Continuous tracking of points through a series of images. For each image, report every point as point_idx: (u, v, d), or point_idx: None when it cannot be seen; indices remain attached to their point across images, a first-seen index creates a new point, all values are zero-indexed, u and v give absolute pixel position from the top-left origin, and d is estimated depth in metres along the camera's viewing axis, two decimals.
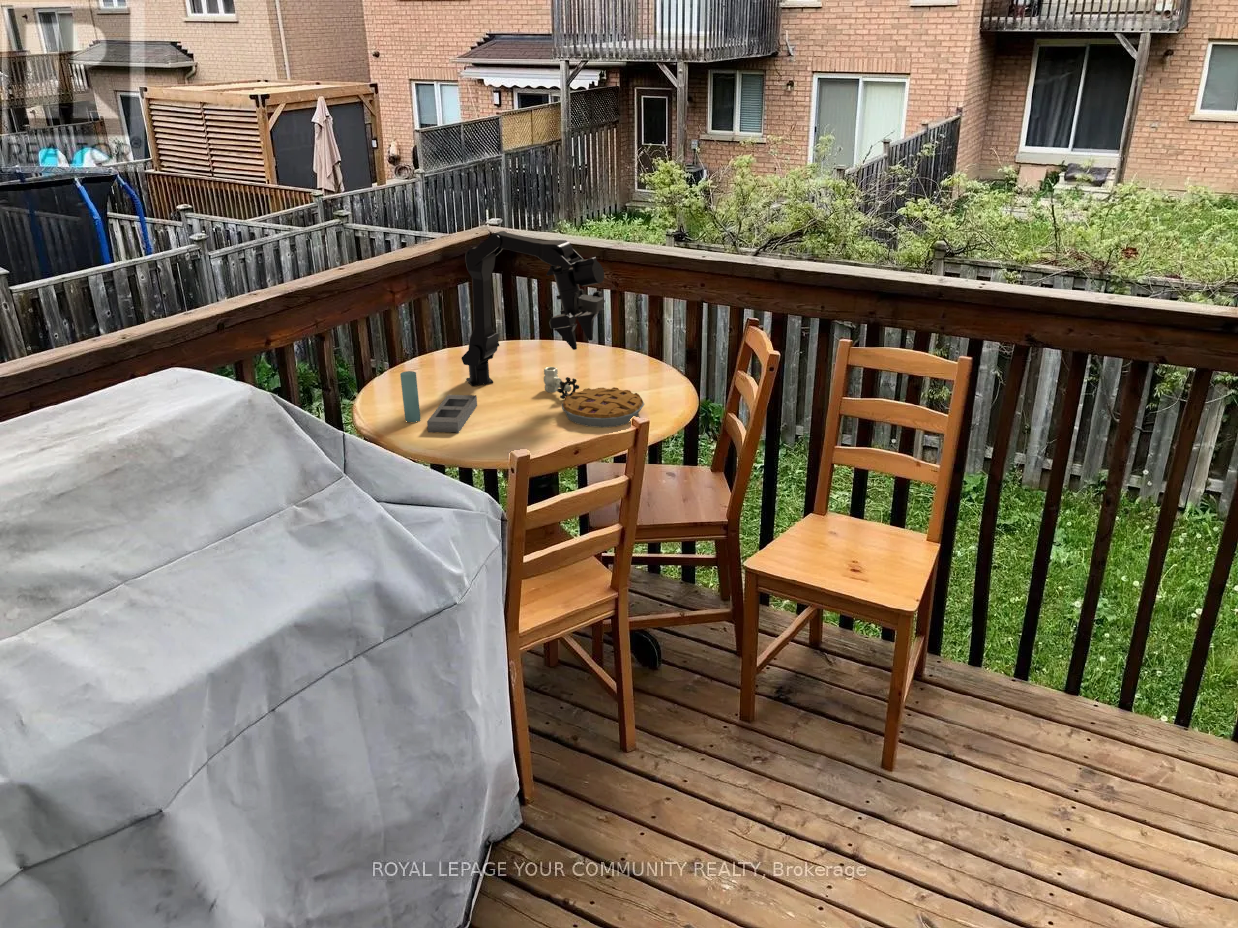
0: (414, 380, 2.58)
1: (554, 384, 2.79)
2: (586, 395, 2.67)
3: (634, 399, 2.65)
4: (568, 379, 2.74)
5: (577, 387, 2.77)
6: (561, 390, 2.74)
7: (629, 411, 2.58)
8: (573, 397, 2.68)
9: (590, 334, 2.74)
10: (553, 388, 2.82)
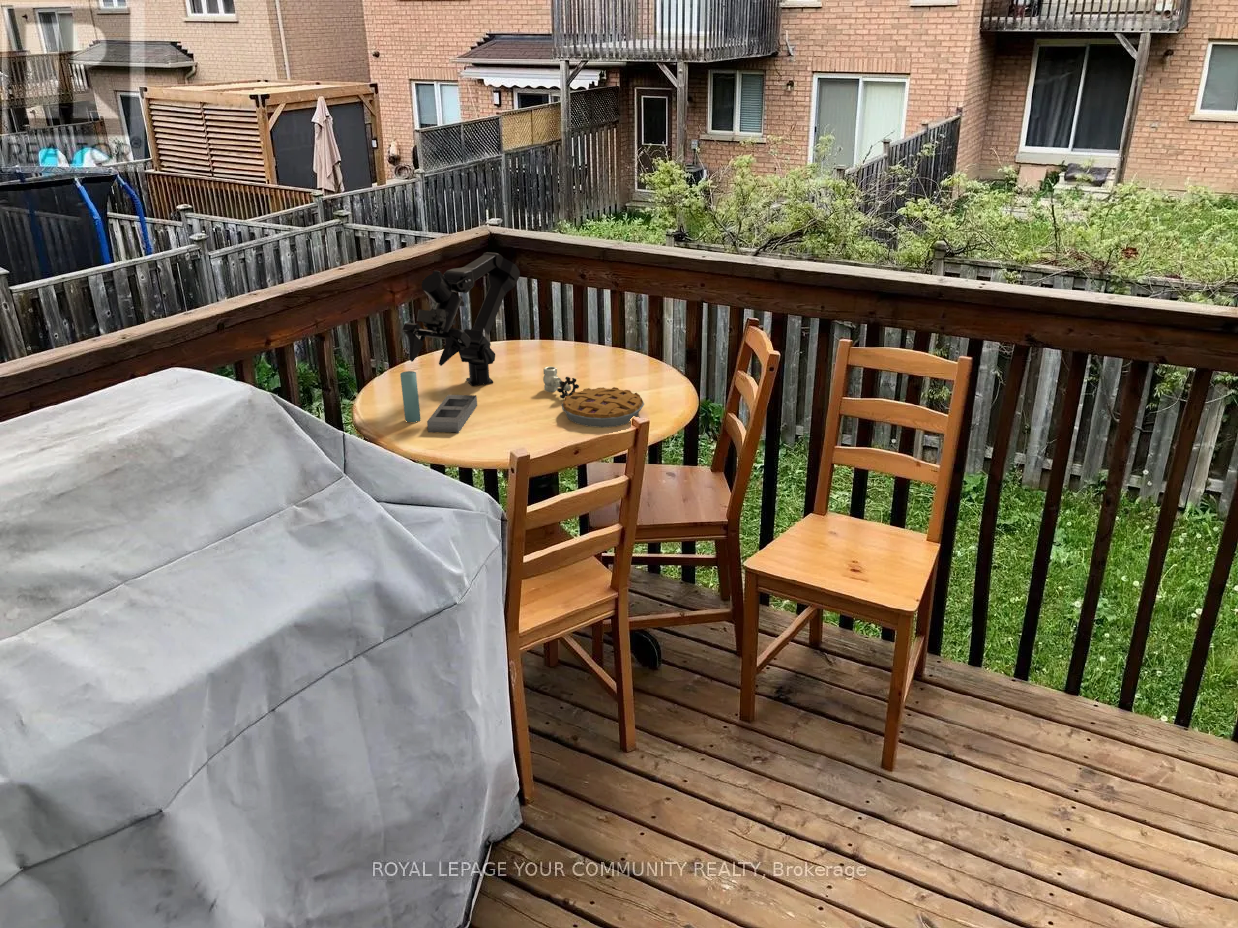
0: (414, 380, 2.58)
1: (554, 384, 2.80)
2: (586, 395, 2.67)
3: (634, 399, 2.65)
4: (568, 379, 2.74)
5: (577, 387, 2.77)
6: (561, 390, 2.74)
7: (629, 411, 2.58)
8: (573, 397, 2.68)
9: None
10: (553, 388, 2.82)
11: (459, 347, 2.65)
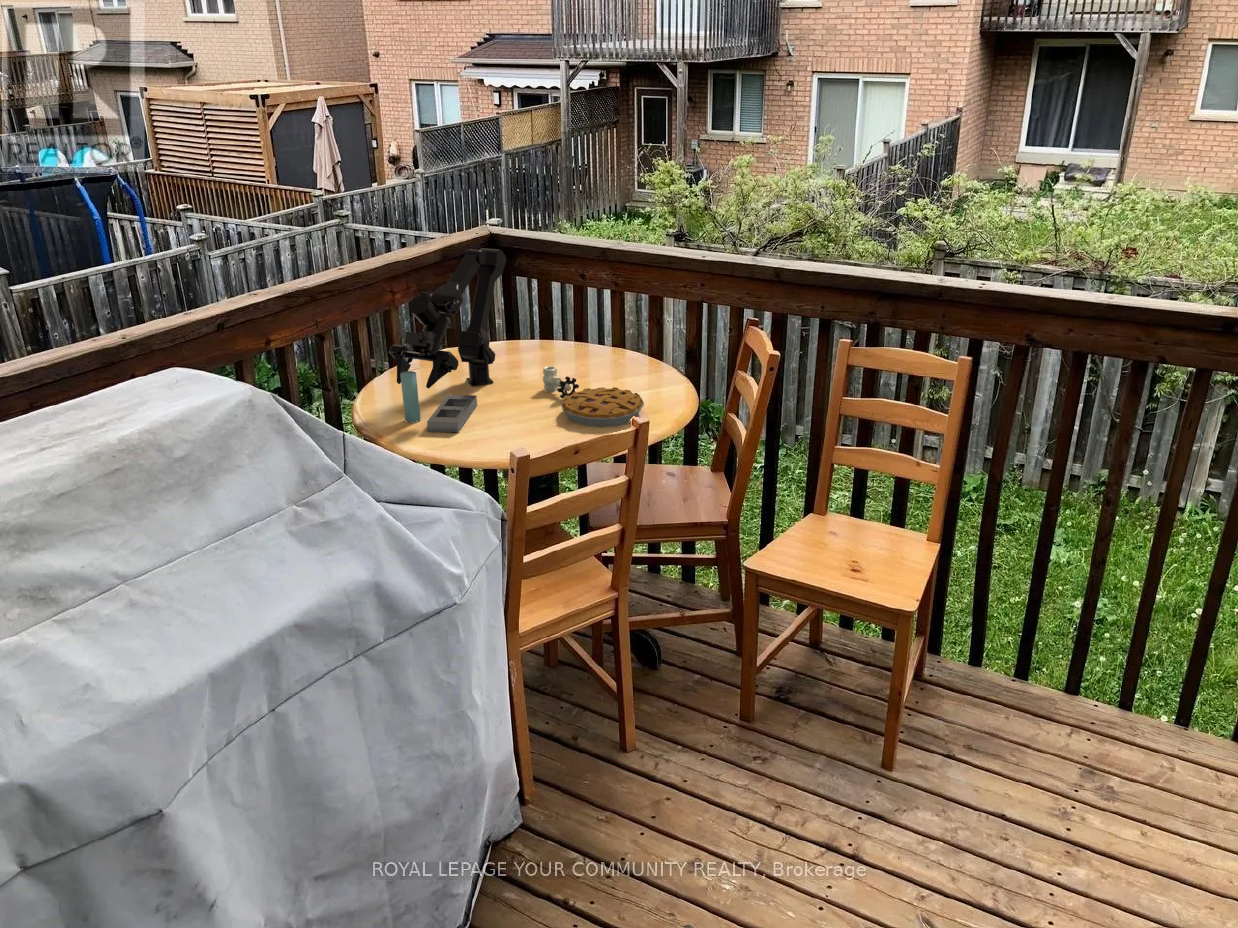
0: (414, 380, 2.58)
1: (554, 383, 2.80)
2: (586, 395, 2.67)
3: (634, 399, 2.65)
4: (568, 378, 2.74)
5: (577, 386, 2.77)
6: (561, 389, 2.74)
7: (629, 411, 2.58)
8: (573, 397, 2.68)
9: None
10: (552, 387, 2.82)
11: (447, 369, 2.62)
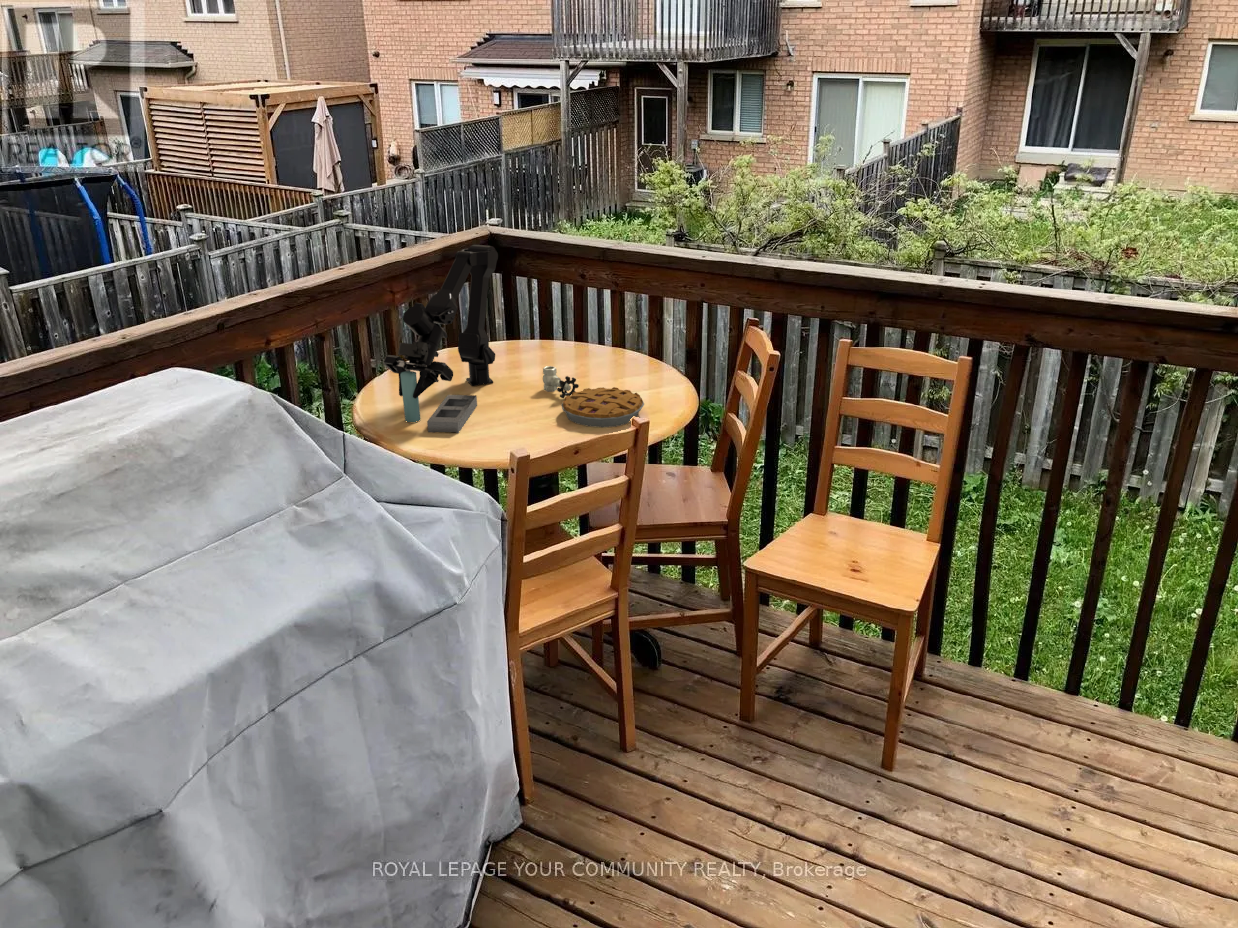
0: (414, 380, 2.58)
1: (553, 383, 2.80)
2: (586, 395, 2.67)
3: (634, 399, 2.65)
4: (568, 378, 2.75)
5: (576, 386, 2.77)
6: (561, 389, 2.74)
7: (629, 411, 2.58)
8: (573, 397, 2.68)
9: None
10: (552, 387, 2.83)
11: (434, 379, 2.61)
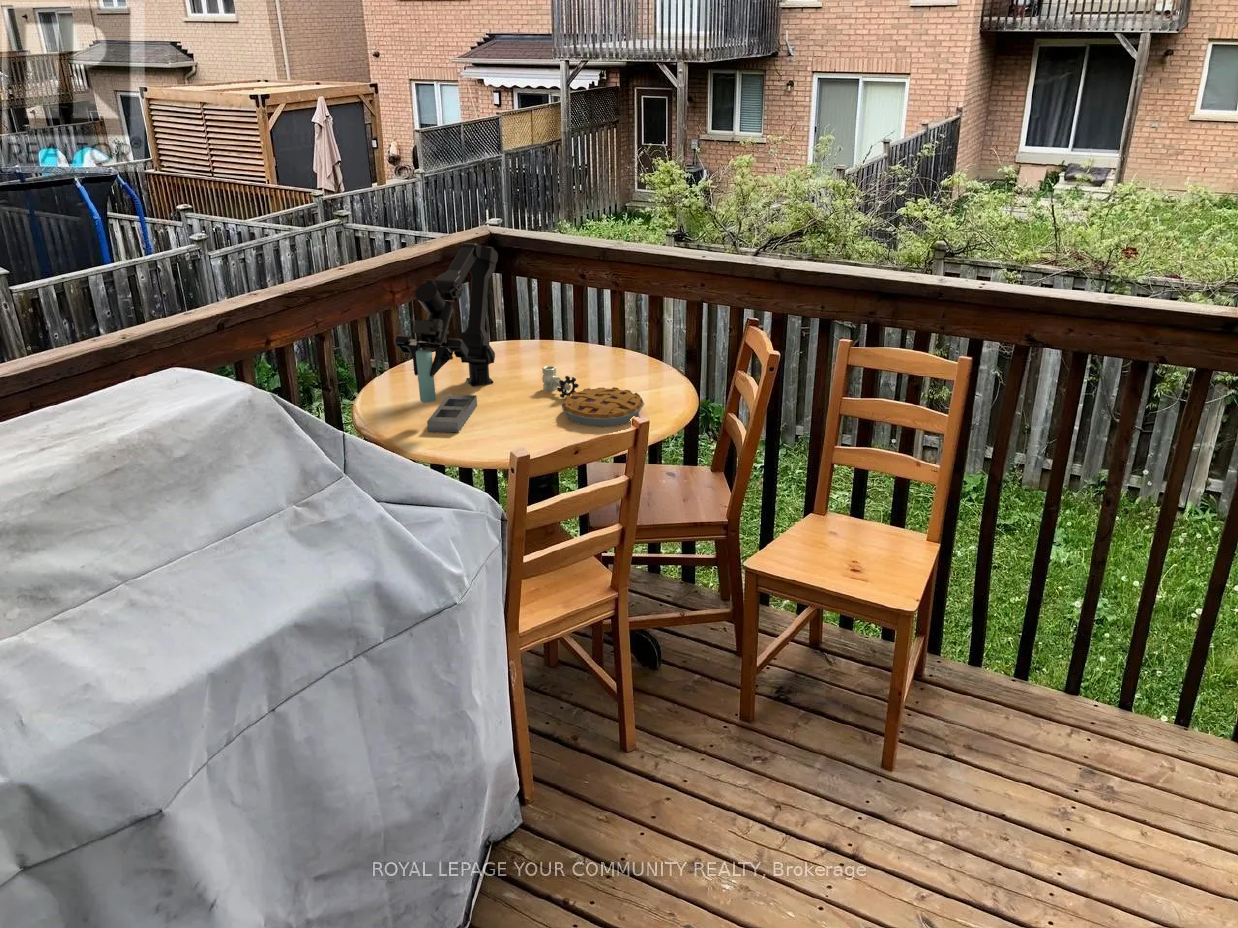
0: (430, 358, 2.54)
1: (553, 383, 2.80)
2: (586, 395, 2.67)
3: (634, 399, 2.65)
4: (568, 378, 2.75)
5: (576, 386, 2.78)
6: (561, 389, 2.75)
7: (629, 411, 2.58)
8: (573, 397, 2.68)
9: None
10: (552, 387, 2.83)
11: (449, 357, 2.58)
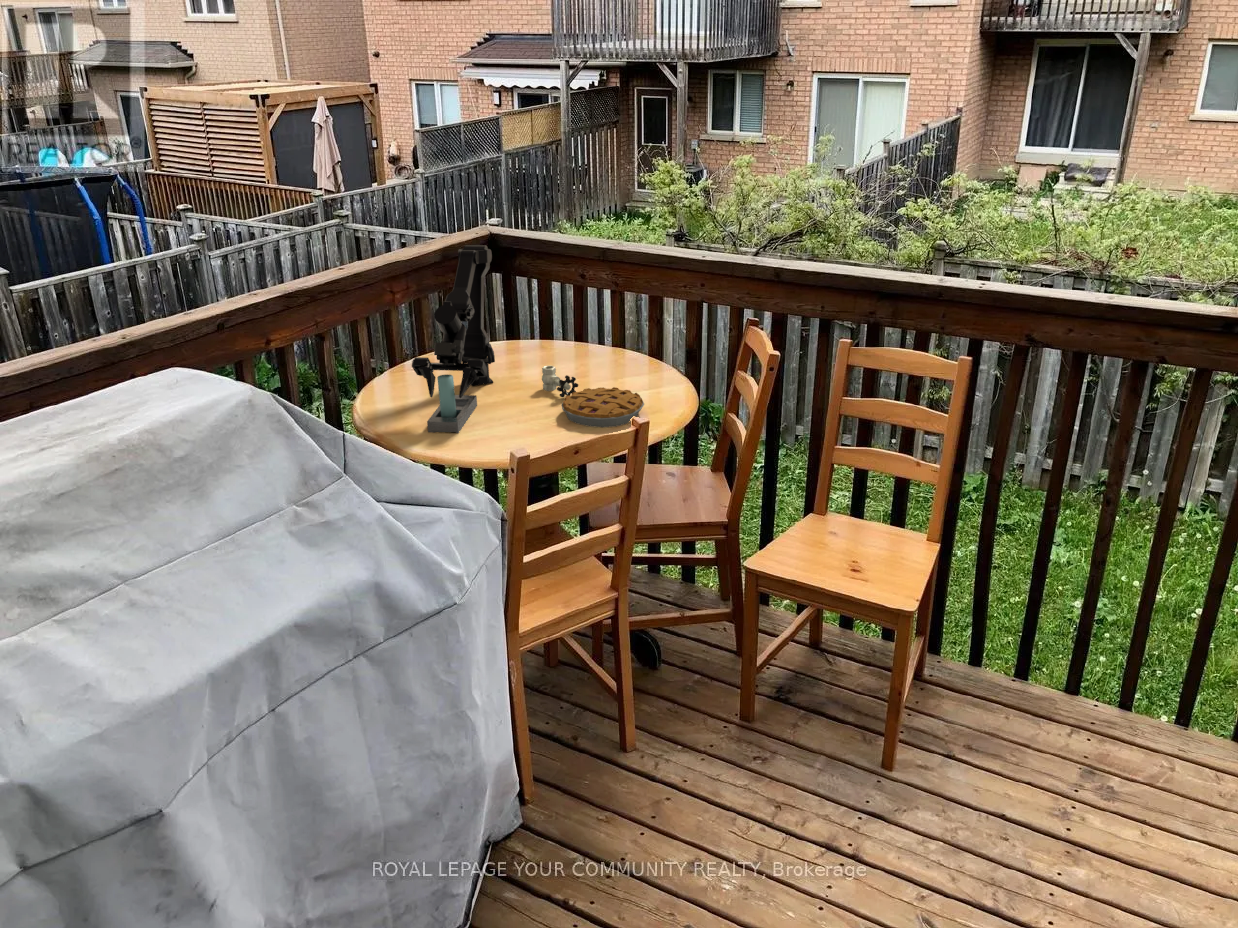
0: (453, 383, 2.56)
1: (553, 383, 2.80)
2: (586, 395, 2.67)
3: (634, 399, 2.65)
4: (567, 377, 2.75)
5: (576, 385, 2.78)
6: (561, 388, 2.75)
7: (629, 411, 2.58)
8: (573, 397, 2.68)
9: None
10: (551, 387, 2.83)
11: (474, 377, 2.59)
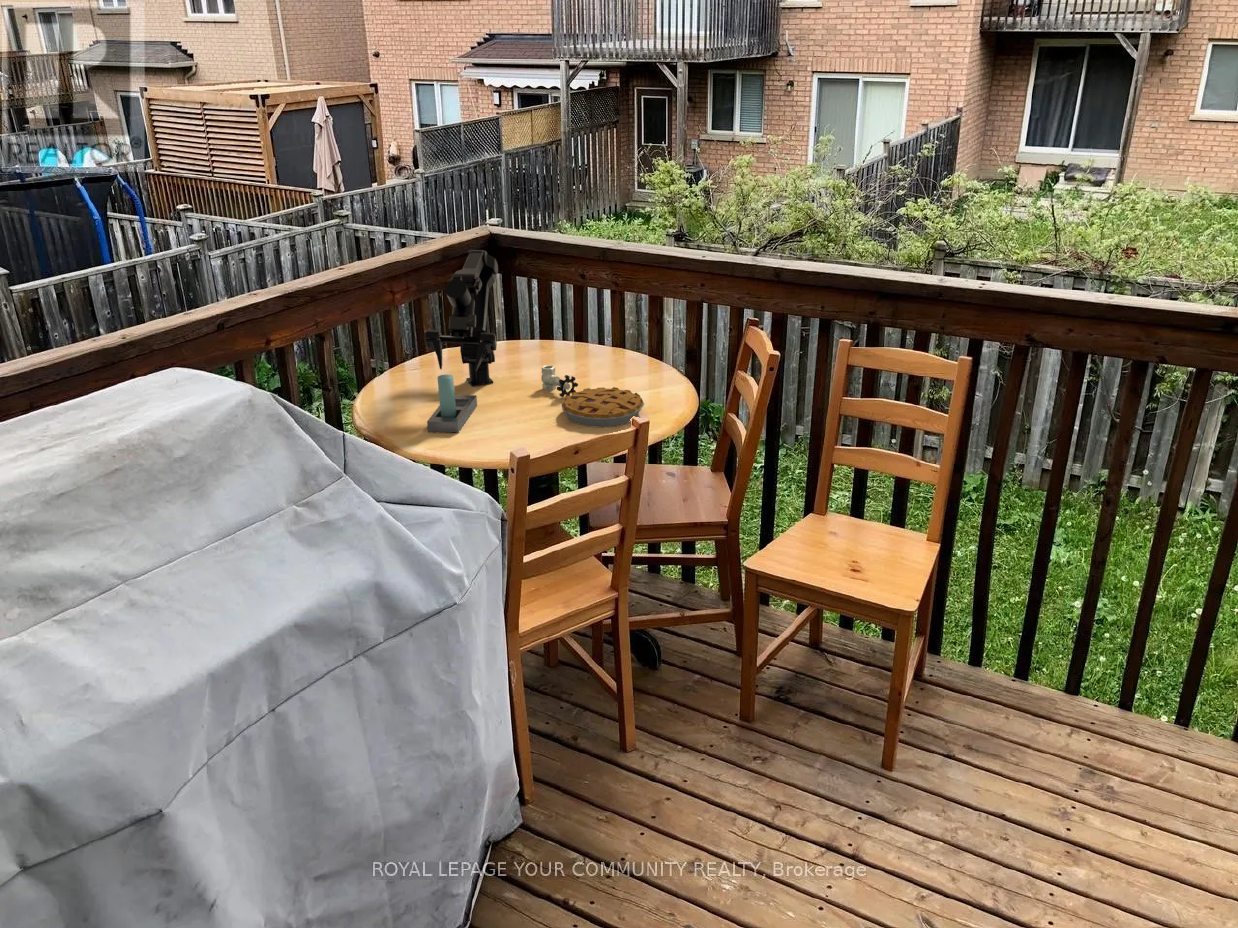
0: (453, 383, 2.56)
1: (552, 382, 2.81)
2: (586, 395, 2.67)
3: (634, 399, 2.65)
4: (567, 377, 2.75)
5: (576, 385, 2.78)
6: (560, 388, 2.75)
7: (629, 411, 2.58)
8: (573, 397, 2.68)
9: None
10: (551, 386, 2.83)
11: (488, 350, 2.66)
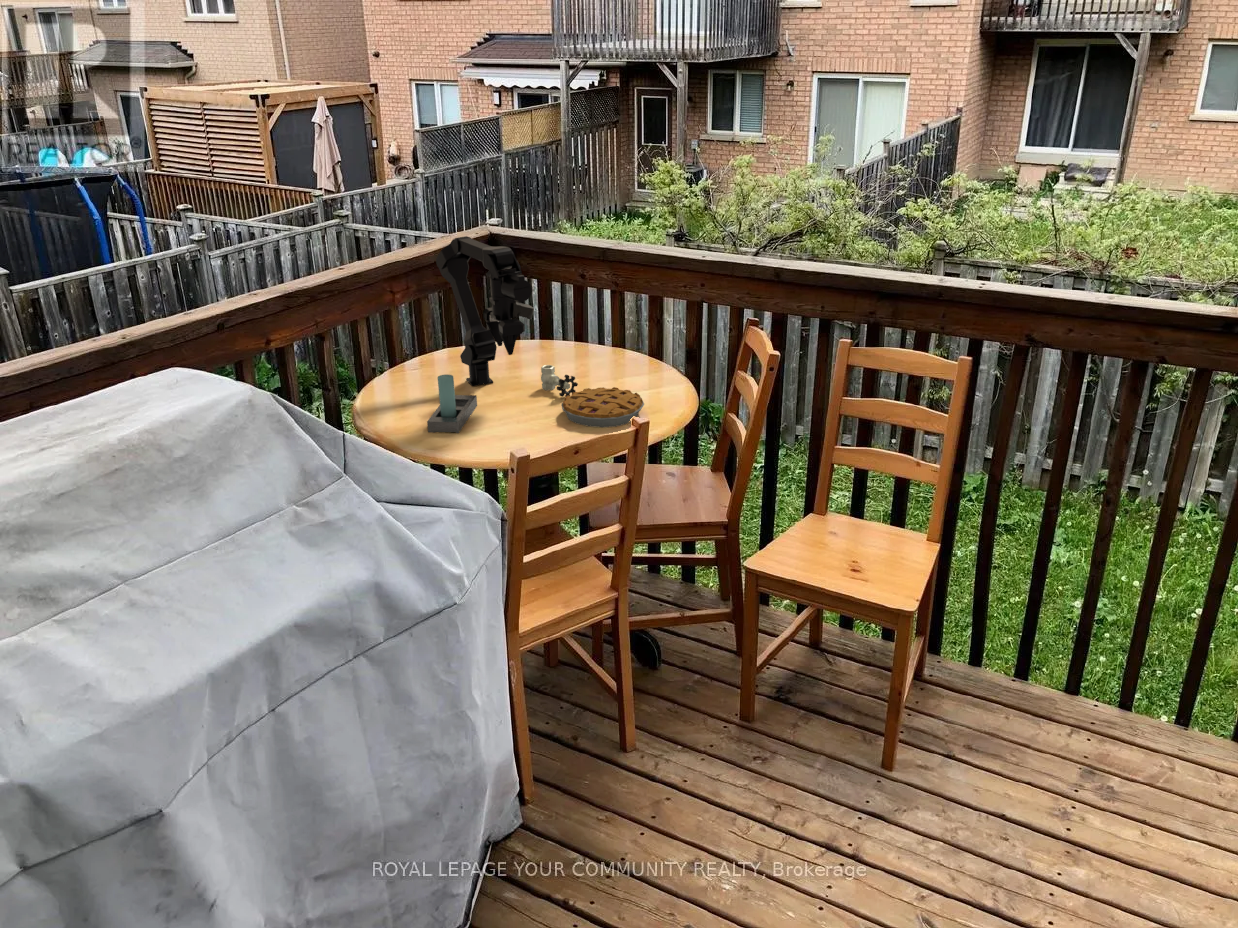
0: (453, 383, 2.56)
1: (552, 382, 2.81)
2: (586, 395, 2.67)
3: (634, 399, 2.65)
4: (567, 377, 2.76)
5: (576, 384, 2.78)
6: (560, 388, 2.76)
7: (629, 411, 2.58)
8: (573, 397, 2.68)
9: (501, 340, 2.79)
10: (551, 386, 2.84)
11: None
